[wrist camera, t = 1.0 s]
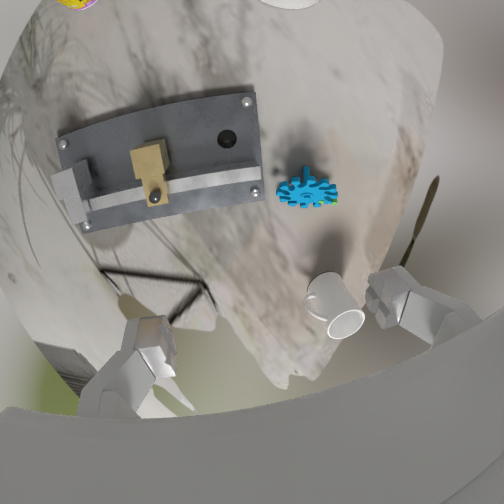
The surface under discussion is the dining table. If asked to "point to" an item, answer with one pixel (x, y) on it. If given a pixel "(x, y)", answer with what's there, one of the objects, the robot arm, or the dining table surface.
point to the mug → (334, 305)
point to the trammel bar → (139, 186)
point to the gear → (307, 191)
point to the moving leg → (152, 170)
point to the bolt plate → (170, 154)
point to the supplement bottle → (78, 4)
